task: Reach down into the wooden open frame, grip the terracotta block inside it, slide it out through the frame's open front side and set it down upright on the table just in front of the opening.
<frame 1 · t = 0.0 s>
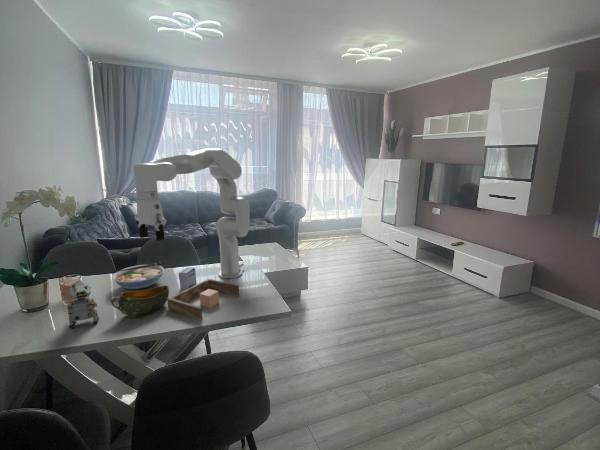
hand: (152, 238, 127), 31 cm above the table, tool pointing down, fingers open, 9 cm apart
medicine box: (188, 286, 157), on the table
wooden open frame: (207, 303, 140), on the table
ramen bowl: (140, 286, 158), on the table
figurine: (85, 322, 125), on the table
cup: (143, 312, 133), on the table
terracotta block: (209, 304, 139), on the table
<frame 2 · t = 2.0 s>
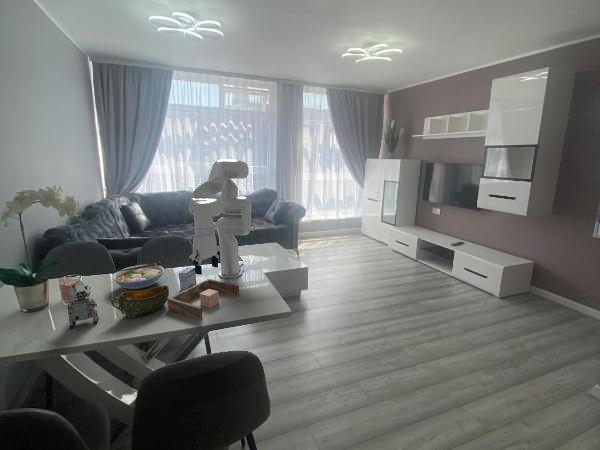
hand: (207, 270, 135), 16 cm above the table, tool pointing down, fingers open, 9 cm apart
nothing on the table moved.
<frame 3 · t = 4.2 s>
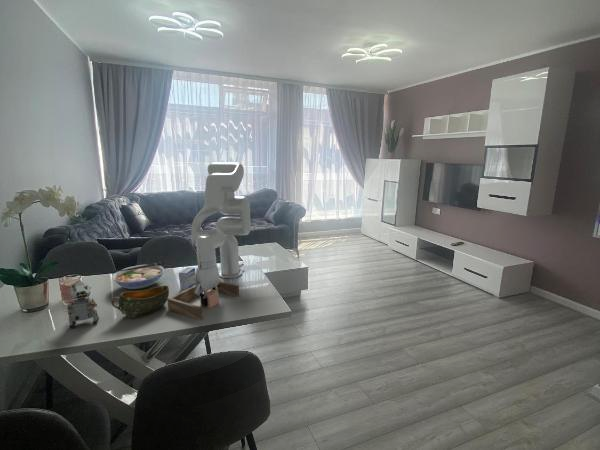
hand: (209, 302, 139), 1 cm above the table, tool pointing down, fingers closed on terracotta block, 5 cm apart
terracotta block: (209, 303, 139), on the table, touching gripper
everything else where it was.
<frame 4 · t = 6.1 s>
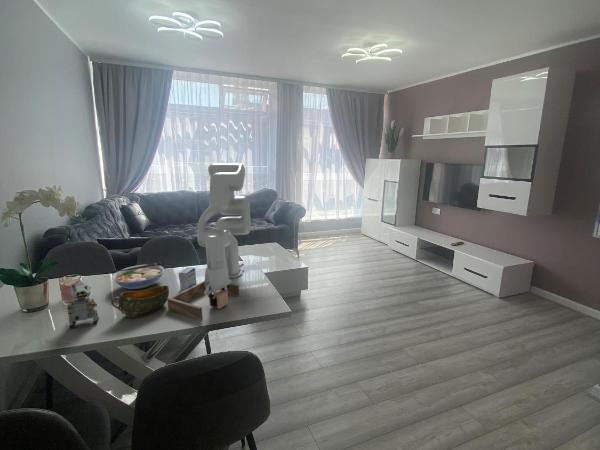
hand: (219, 302, 136), 2 cm above the table, tool pointing down, fingers closed on terracotta block, 5 cm apart
terracotta block: (219, 304, 137), point 1 cm above the table, touching gripper
everything else where it was.
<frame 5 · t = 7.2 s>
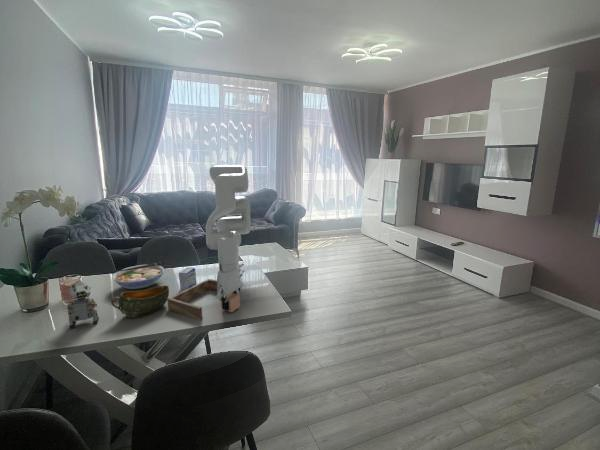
hand: (230, 306, 134), 2 cm above the table, tool pointing down, fingers closed on terracotta block, 5 cm apart
terracotta block: (230, 307, 134), point 1 cm above the table, touching gripper
everything else where it was.
when the fingers open (2 cm above the table, at t = 8.1 s): terracotta block stays where it is, on the table.
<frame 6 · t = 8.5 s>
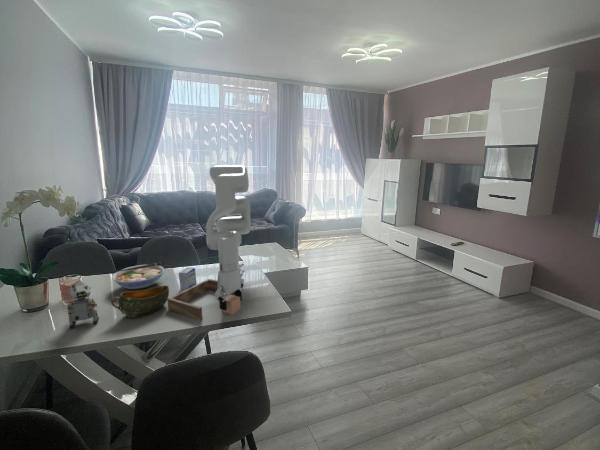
hand: (231, 304, 133), 2 cm above the table, tool pointing down, fingers open, 9 cm apart
terracotta block: (231, 310, 134), on the table
everything else where it was.
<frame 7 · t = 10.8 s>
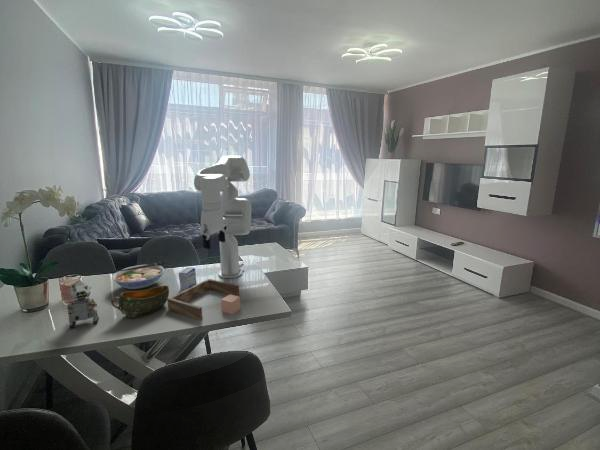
hand: (214, 244, 138), 25 cm above the table, tool pointing down, fingers open, 9 cm apart
nothing on the table moved.
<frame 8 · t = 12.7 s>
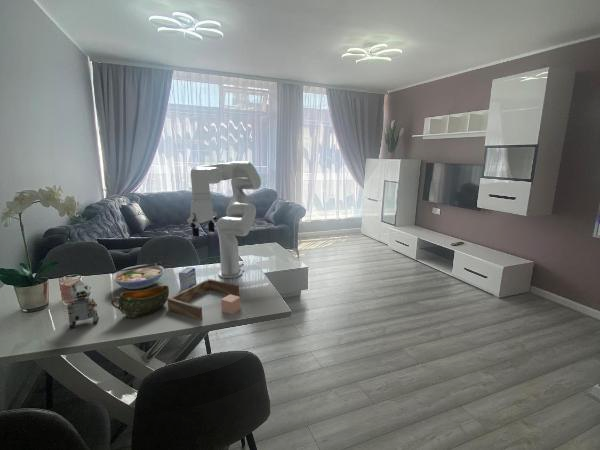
hand: (204, 234, 145), 28 cm above the table, tool pointing down, fingers open, 9 cm apart
nothing on the table moved.
at the end: terracotta block inside the target area (0.4 cm from its centre), on the table; terracotta block tilted 0°; the gripper is holding nothing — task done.
